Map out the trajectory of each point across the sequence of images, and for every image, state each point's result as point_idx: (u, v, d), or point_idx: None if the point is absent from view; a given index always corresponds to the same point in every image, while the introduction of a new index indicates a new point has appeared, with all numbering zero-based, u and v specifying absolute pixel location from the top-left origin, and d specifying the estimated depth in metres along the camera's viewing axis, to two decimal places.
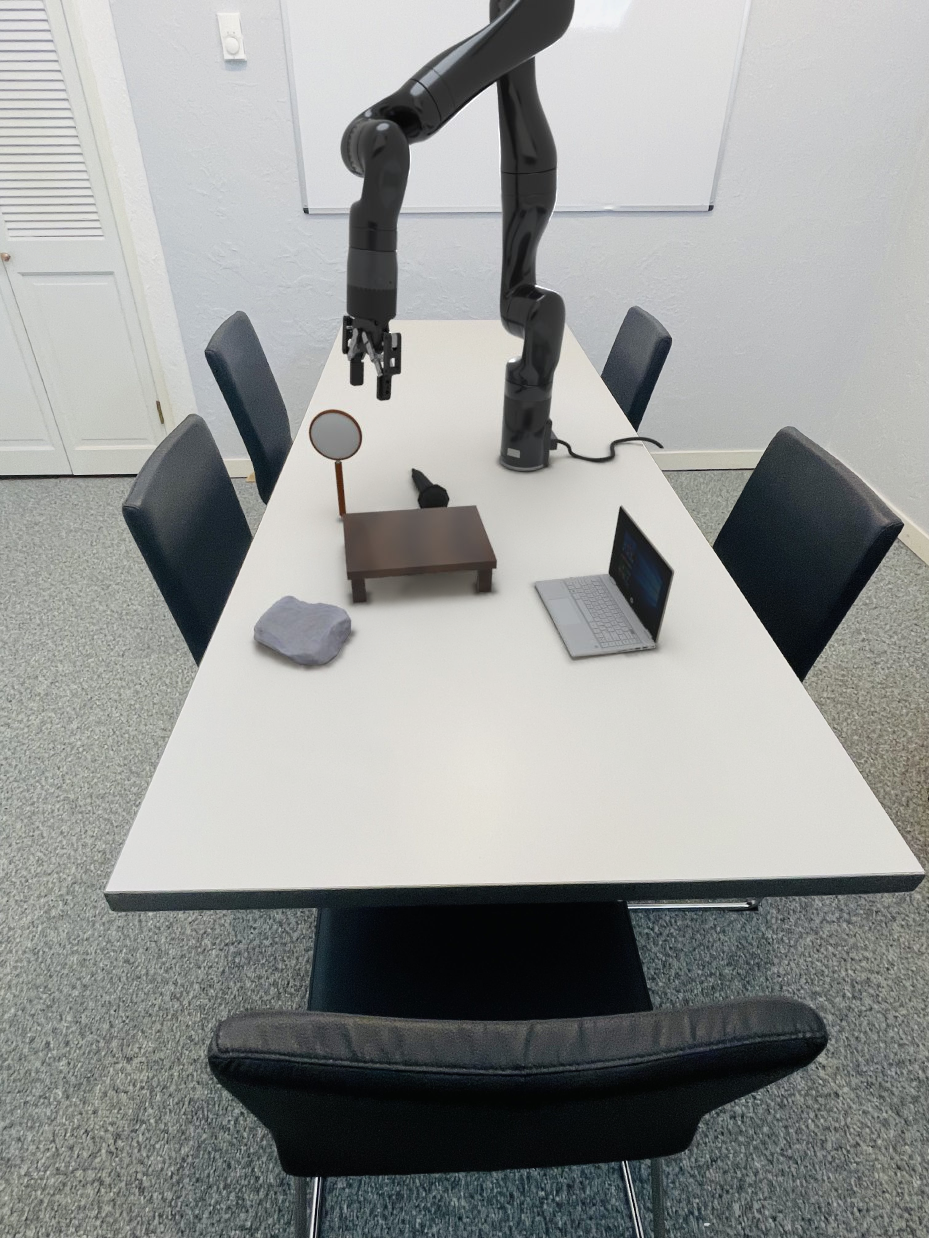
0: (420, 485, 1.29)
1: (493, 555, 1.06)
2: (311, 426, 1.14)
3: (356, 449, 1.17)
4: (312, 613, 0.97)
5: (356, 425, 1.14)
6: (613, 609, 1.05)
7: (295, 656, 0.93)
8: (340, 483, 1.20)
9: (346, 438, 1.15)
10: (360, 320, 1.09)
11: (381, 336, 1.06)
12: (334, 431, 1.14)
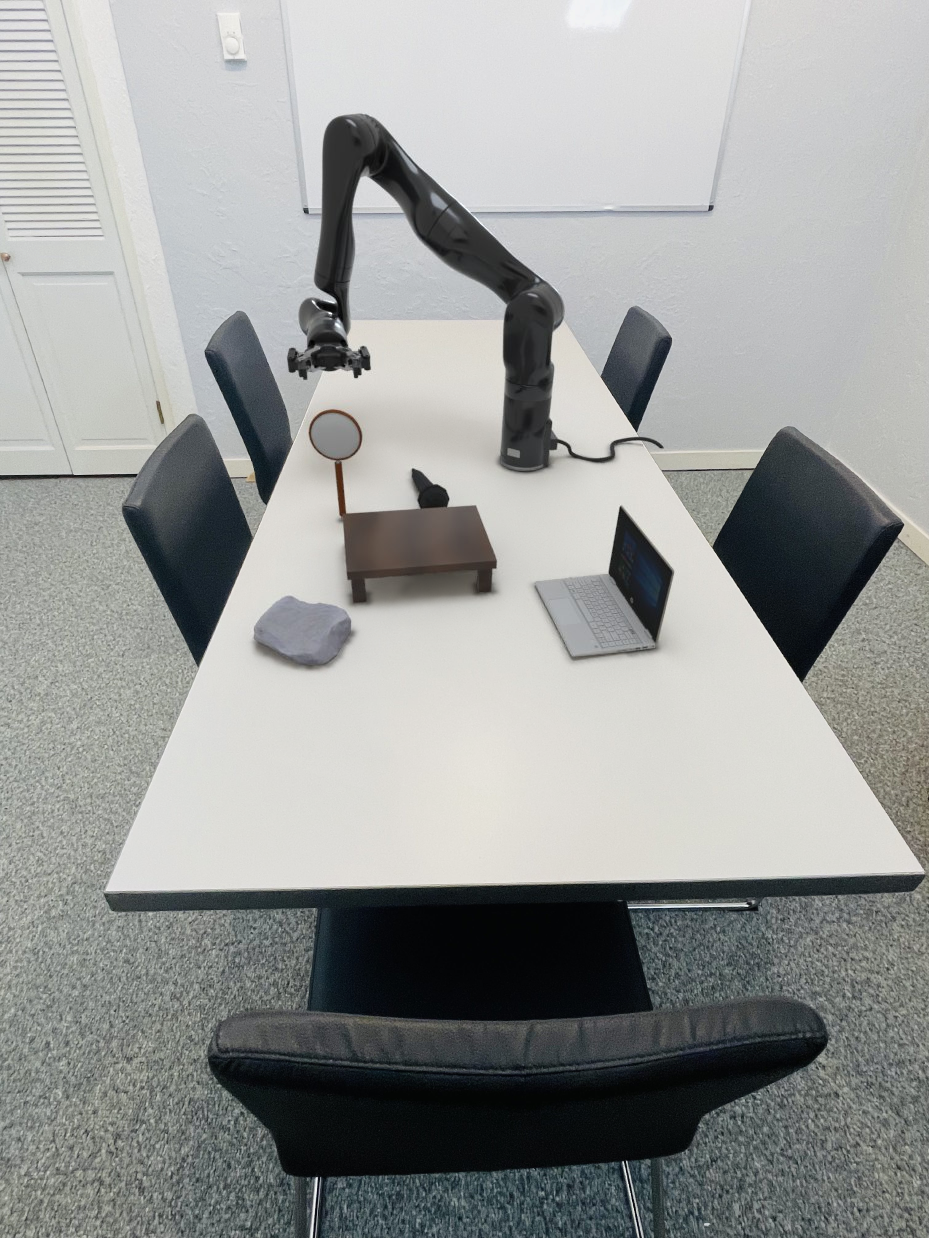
0: (420, 485, 1.29)
1: (493, 555, 1.06)
2: (311, 426, 1.14)
3: (356, 449, 1.17)
4: (312, 613, 0.97)
5: (356, 425, 1.14)
6: (613, 609, 1.05)
7: (295, 656, 0.93)
8: (340, 483, 1.20)
9: (346, 438, 1.15)
10: None
11: None
12: (334, 431, 1.14)
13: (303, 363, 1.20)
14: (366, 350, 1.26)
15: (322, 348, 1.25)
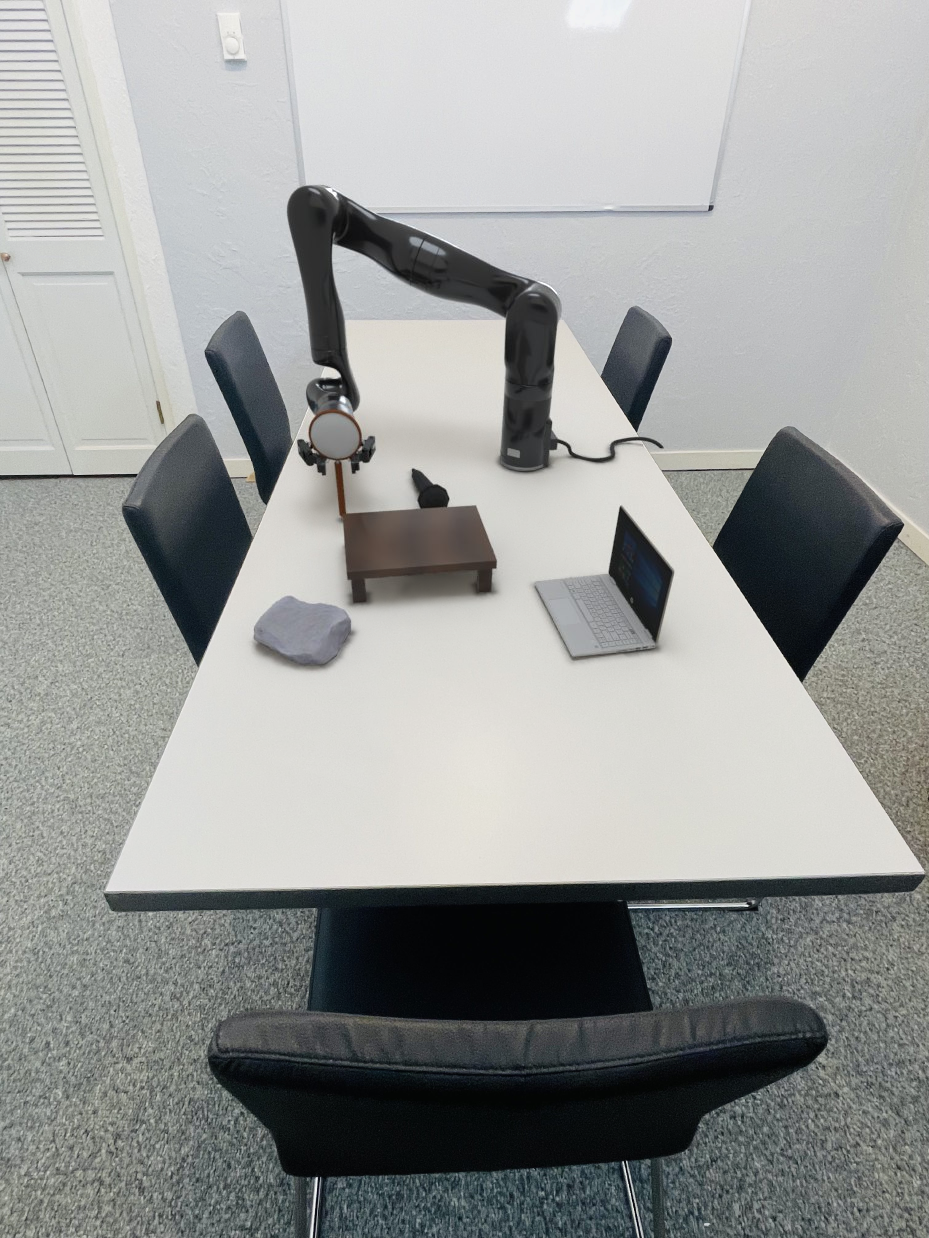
0: (420, 485, 1.29)
1: (493, 555, 1.06)
2: (311, 426, 1.14)
3: (356, 449, 1.17)
4: (312, 613, 0.97)
5: (356, 425, 1.14)
6: (613, 609, 1.05)
7: (295, 656, 0.93)
8: (340, 483, 1.20)
9: (346, 438, 1.15)
10: None
11: (313, 448, 1.24)
12: (334, 431, 1.14)
13: (322, 458, 1.17)
14: (370, 441, 1.22)
15: None
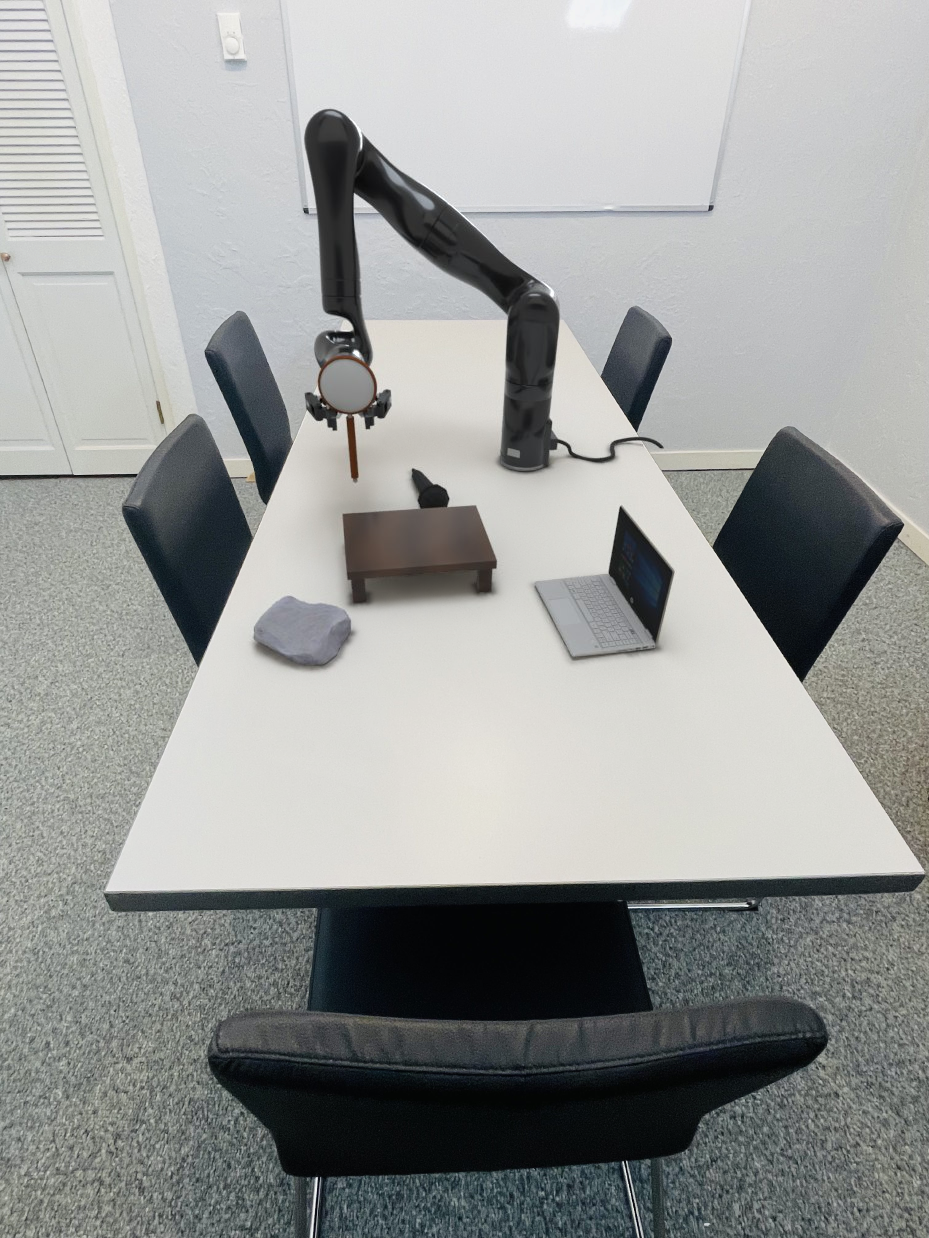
0: (420, 485, 1.29)
1: (493, 555, 1.06)
2: (321, 375, 1.02)
3: (370, 401, 1.05)
4: (312, 613, 0.97)
5: (370, 374, 1.02)
6: (613, 609, 1.05)
7: (295, 656, 0.93)
8: (352, 440, 1.08)
9: (359, 388, 1.03)
10: None
11: (322, 403, 1.12)
12: (346, 380, 1.02)
13: (332, 411, 1.05)
14: (386, 395, 1.10)
15: None
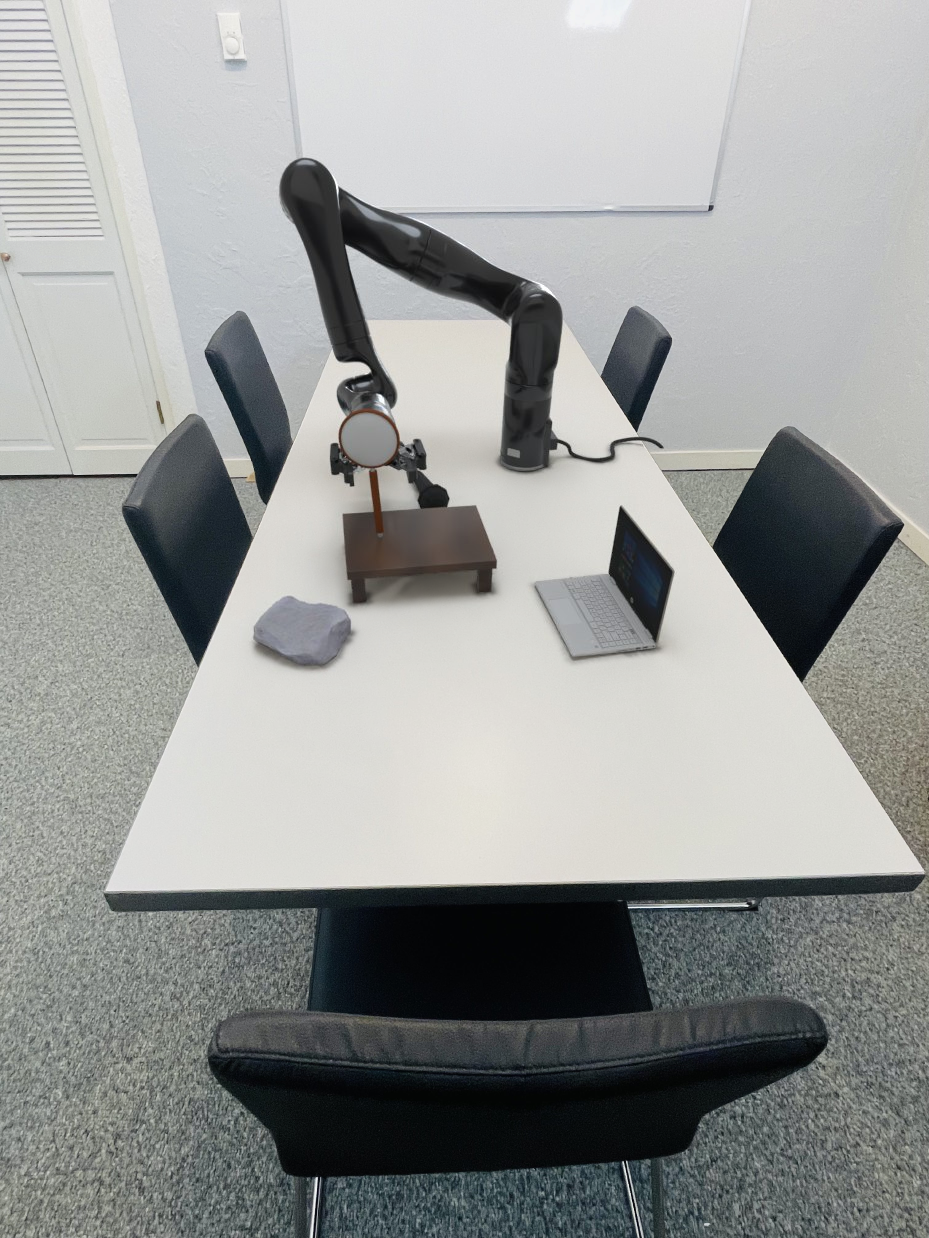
0: (420, 485, 1.29)
1: (493, 555, 1.06)
2: (341, 430, 0.99)
3: (393, 454, 1.01)
4: (312, 613, 0.97)
5: (392, 426, 0.99)
6: (613, 609, 1.05)
7: (295, 656, 0.93)
8: (376, 494, 1.04)
9: (381, 442, 1.00)
10: None
11: None
12: (367, 434, 0.99)
13: (349, 467, 1.01)
14: (421, 445, 1.07)
15: None
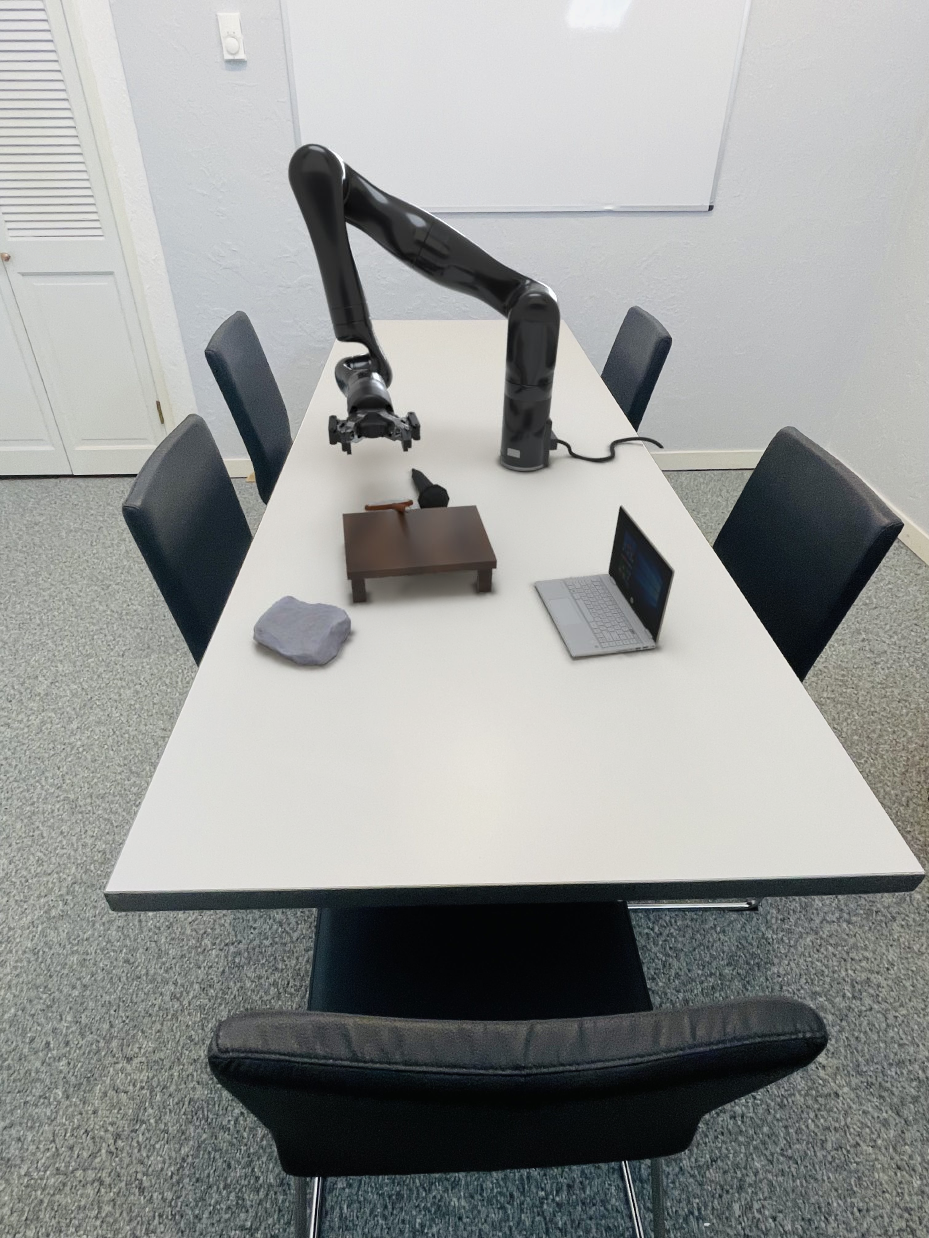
0: (420, 485, 1.29)
1: (493, 555, 1.06)
2: (366, 506, 1.26)
3: (409, 501, 1.24)
4: (312, 613, 0.97)
5: None
6: (613, 609, 1.05)
7: (295, 656, 0.93)
8: None
9: (398, 499, 1.25)
10: None
11: None
12: None
13: (347, 436, 1.07)
14: (415, 417, 1.13)
15: (366, 416, 1.12)
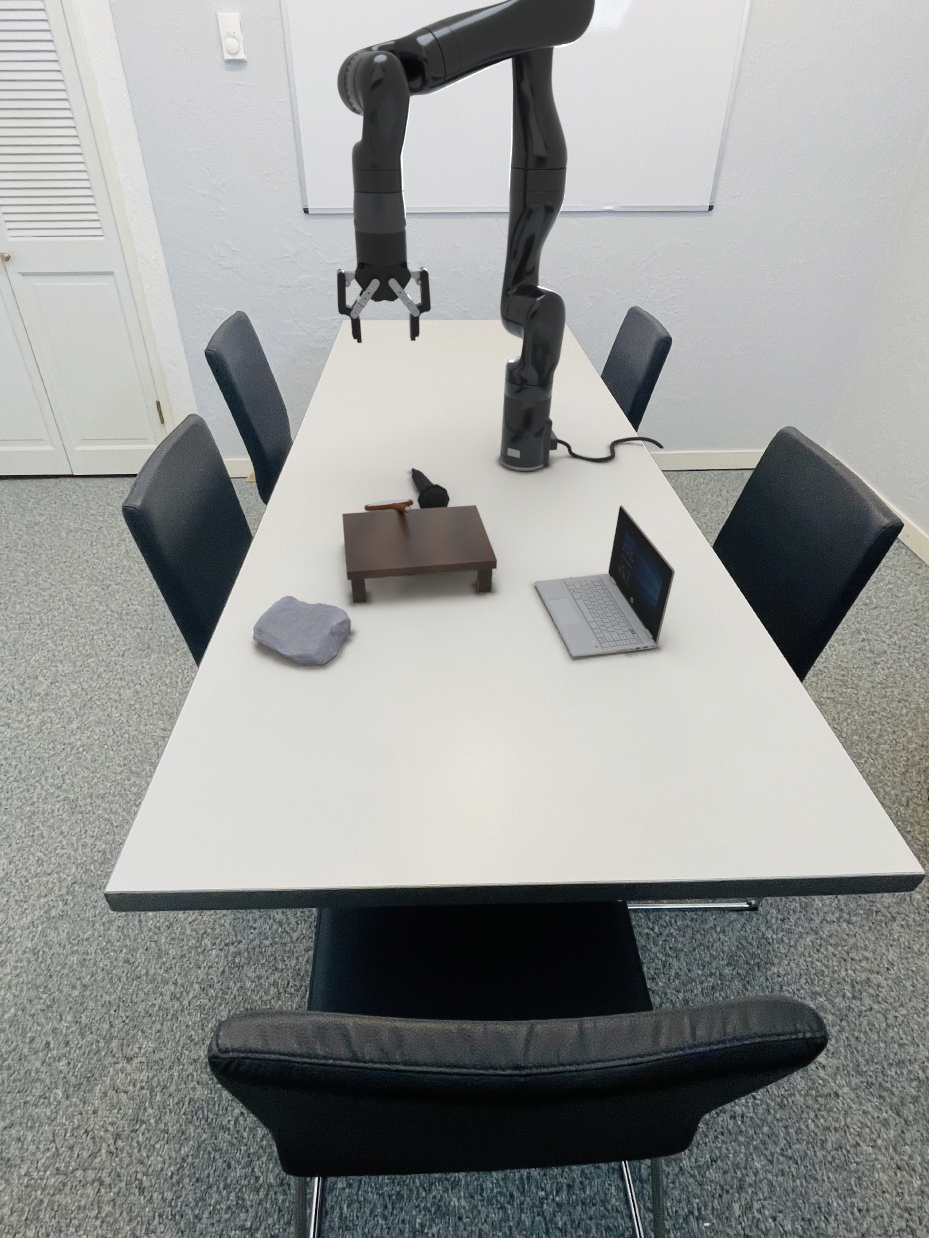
0: (420, 485, 1.29)
1: (493, 555, 1.06)
2: (366, 506, 1.26)
3: (409, 501, 1.24)
4: (312, 613, 0.97)
5: None
6: (613, 609, 1.05)
7: (295, 656, 0.93)
8: None
9: (398, 499, 1.25)
10: (373, 269, 1.06)
11: (410, 276, 1.08)
12: None
13: None
14: None
15: None
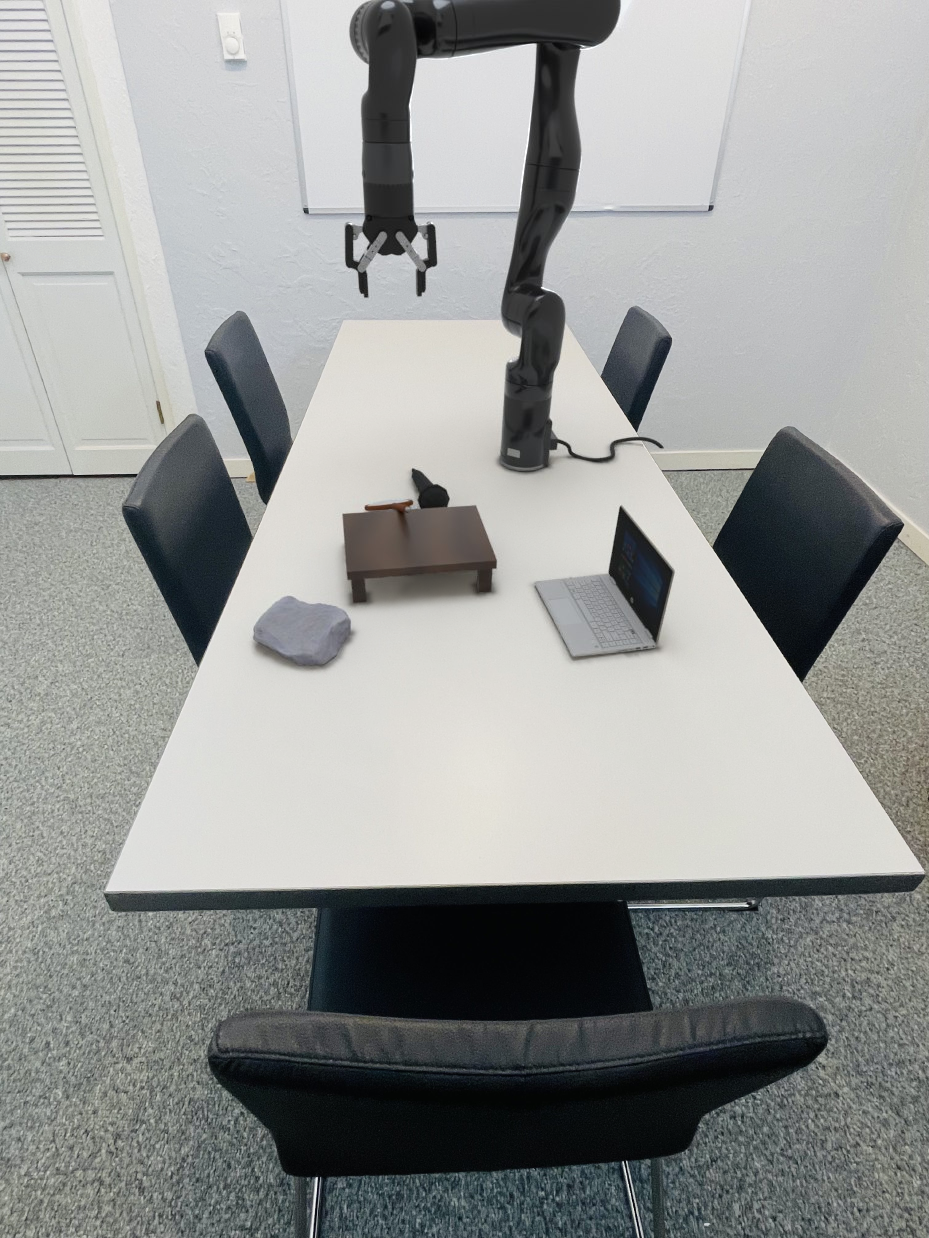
0: (420, 485, 1.29)
1: (493, 555, 1.06)
2: (366, 506, 1.26)
3: (409, 501, 1.24)
4: (312, 613, 0.97)
5: None
6: (613, 609, 1.05)
7: (295, 656, 0.93)
8: None
9: (398, 499, 1.25)
10: (381, 222, 1.07)
11: (417, 230, 1.09)
12: None
13: None
14: None
15: None
